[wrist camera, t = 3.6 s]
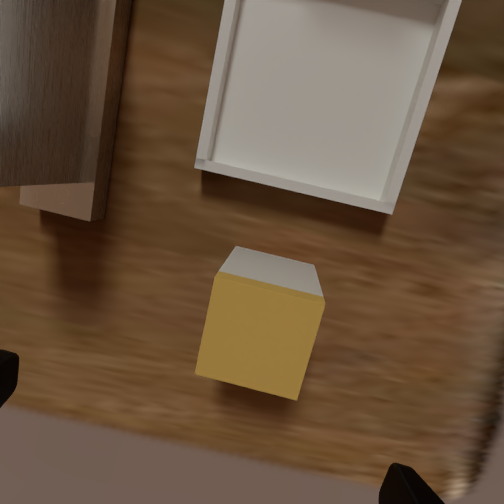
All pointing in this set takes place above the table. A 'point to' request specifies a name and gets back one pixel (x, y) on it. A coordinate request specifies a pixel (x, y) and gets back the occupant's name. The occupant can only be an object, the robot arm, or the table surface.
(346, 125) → the tray
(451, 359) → the table surface
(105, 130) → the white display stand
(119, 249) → the table surface
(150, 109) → the table surface
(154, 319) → the table surface
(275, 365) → the amber cartridge
